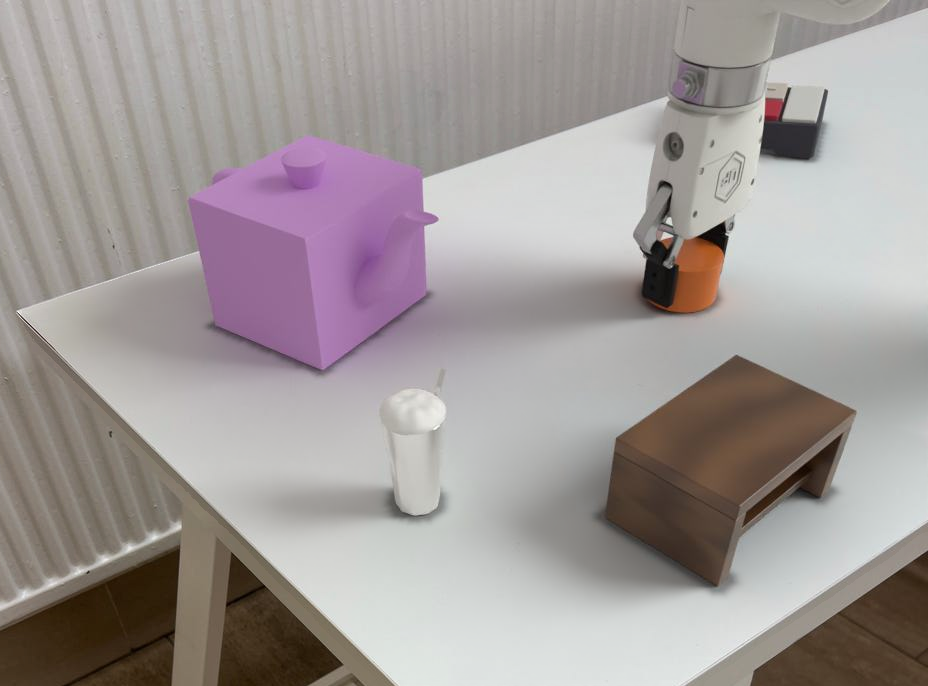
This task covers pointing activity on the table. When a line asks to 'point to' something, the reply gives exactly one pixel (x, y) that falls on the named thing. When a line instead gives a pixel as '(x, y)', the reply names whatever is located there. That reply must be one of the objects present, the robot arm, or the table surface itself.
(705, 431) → the brown wooden step stool
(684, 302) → the orange cylinder puck
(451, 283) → the table surface
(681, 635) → the table surface
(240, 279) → the teapot
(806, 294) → the table surface
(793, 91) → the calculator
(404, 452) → the milkshake
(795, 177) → the table surface
